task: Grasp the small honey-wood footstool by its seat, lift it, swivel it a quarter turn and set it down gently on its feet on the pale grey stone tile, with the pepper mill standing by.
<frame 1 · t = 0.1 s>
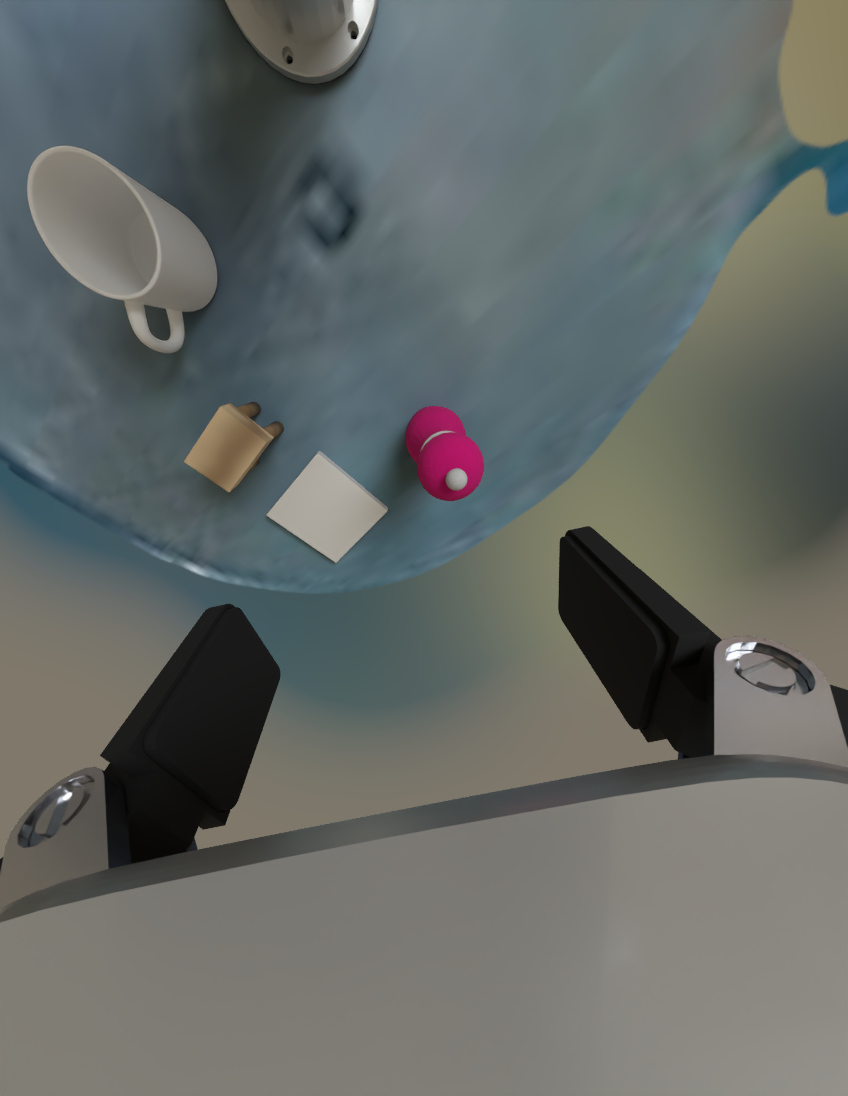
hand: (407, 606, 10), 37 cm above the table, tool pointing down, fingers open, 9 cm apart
tile: (329, 509, 47), on the table
stool: (254, 434, 41), on the table
pepper mill: (431, 431, 43), on the table
cup: (181, 286, 34), on the table
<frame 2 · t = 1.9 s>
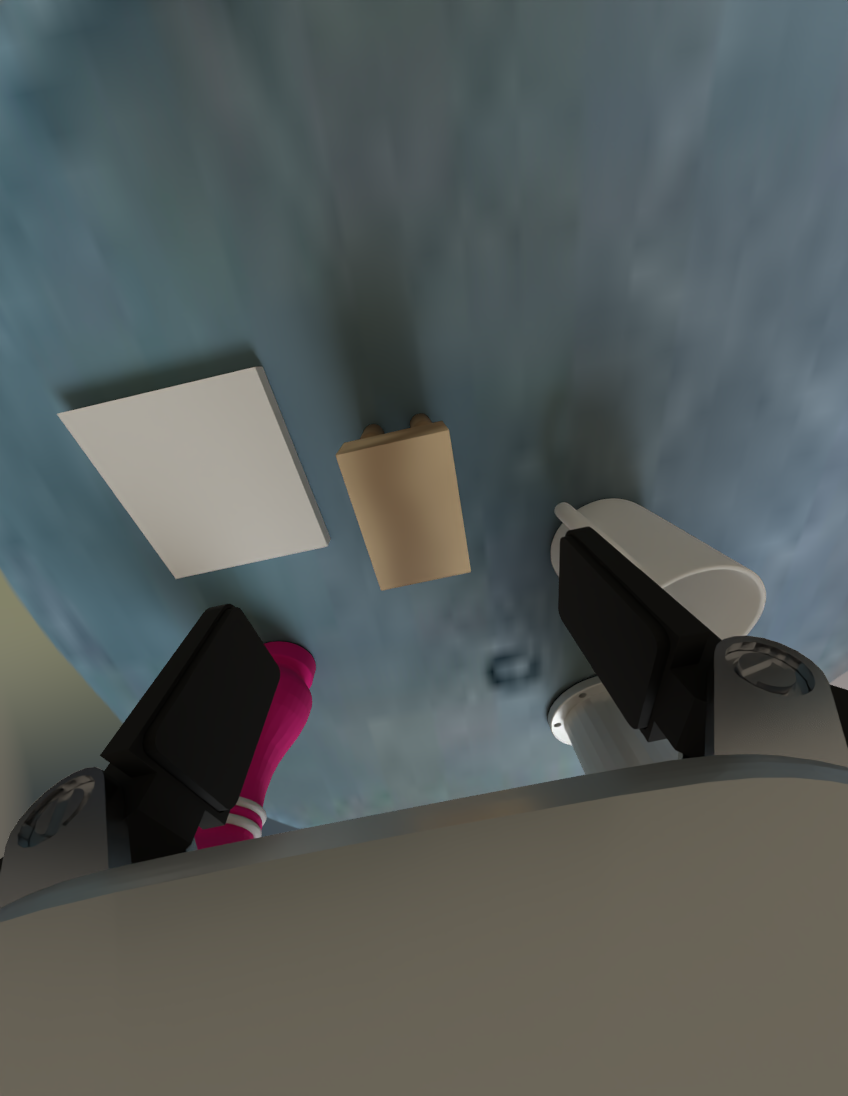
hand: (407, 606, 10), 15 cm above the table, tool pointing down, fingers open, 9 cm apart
tile: (218, 482, 23), on the table
stool: (406, 470, 23), on the table
pepper mill: (283, 661, 32), on the table
cup: (581, 528, 27), on the table
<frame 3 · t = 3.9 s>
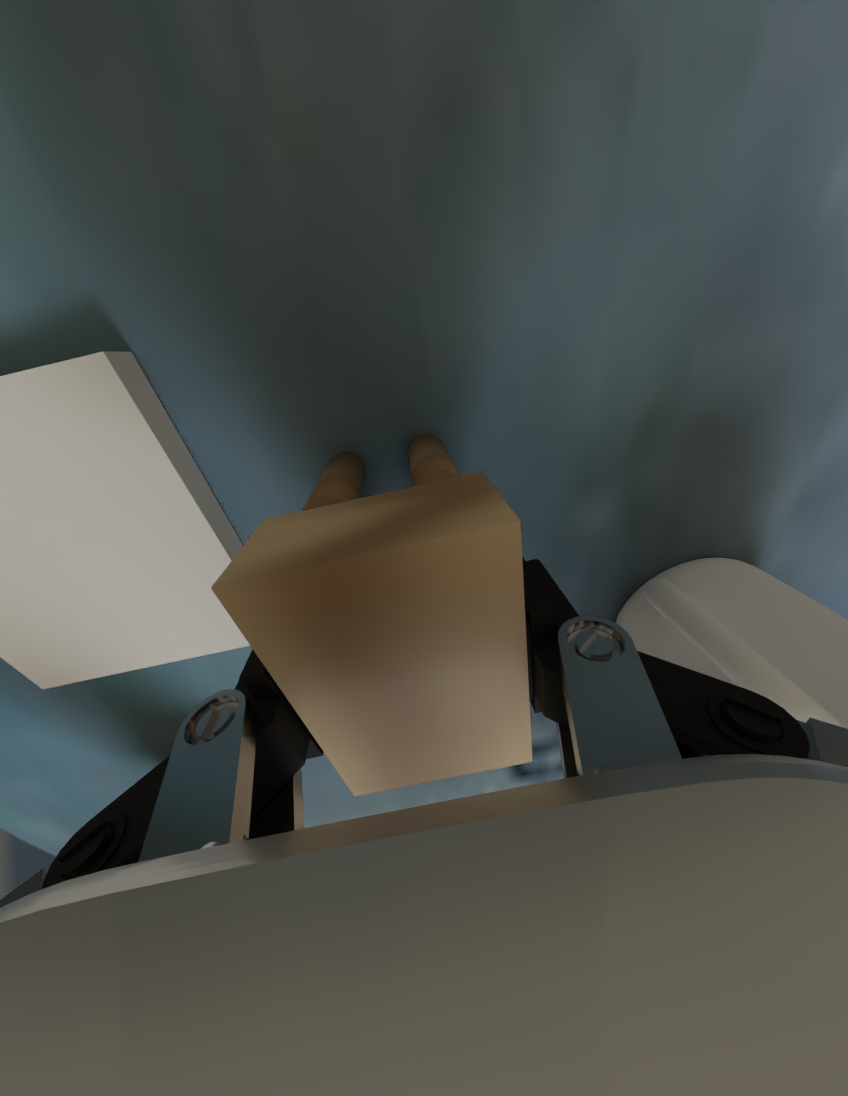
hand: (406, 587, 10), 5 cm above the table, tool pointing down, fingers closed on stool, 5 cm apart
tile: (89, 548, 14), on the table
stool: (402, 523, 14), on the table, touching gripper
cup: (661, 596, 18), on the table
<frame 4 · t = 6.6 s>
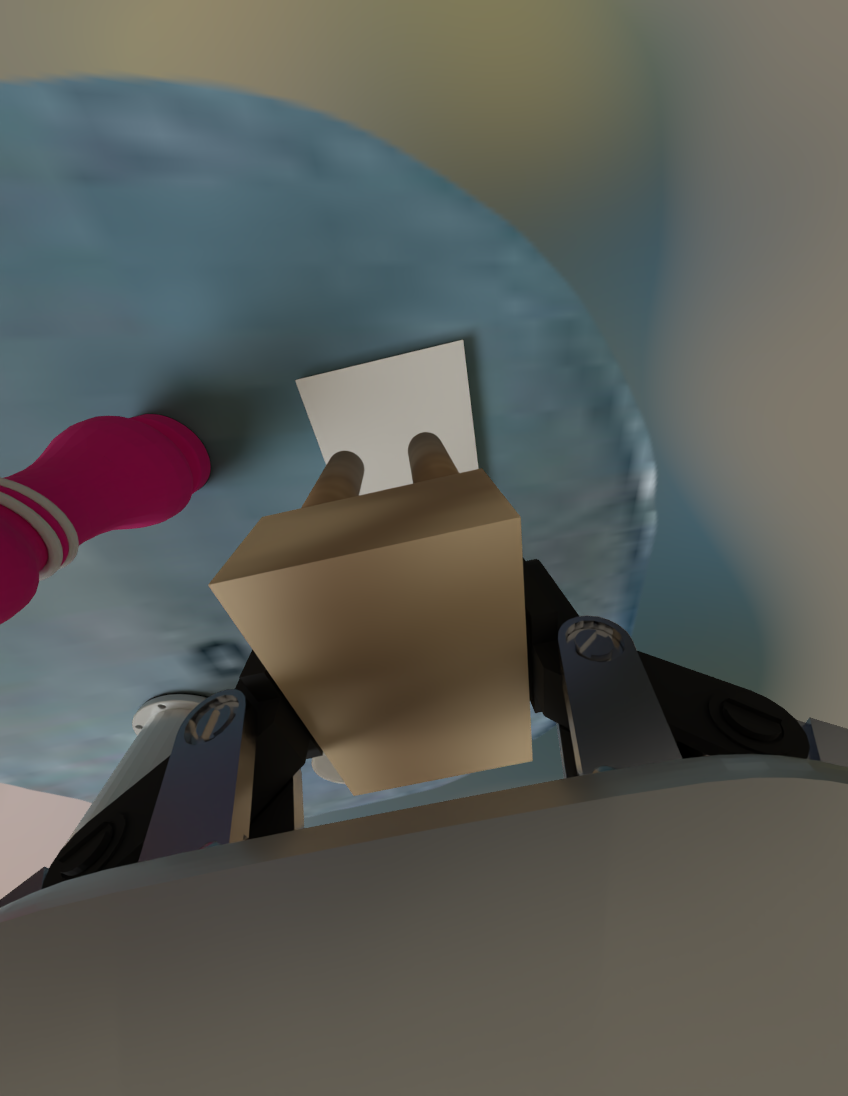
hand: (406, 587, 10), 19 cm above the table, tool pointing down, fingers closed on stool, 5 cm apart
tile: (398, 442, 27), on the table
stool: (402, 521, 14), point 15 cm above the table, touching gripper
pepper mill: (169, 455, 26), on the table
cup: (370, 667, 41), on the table
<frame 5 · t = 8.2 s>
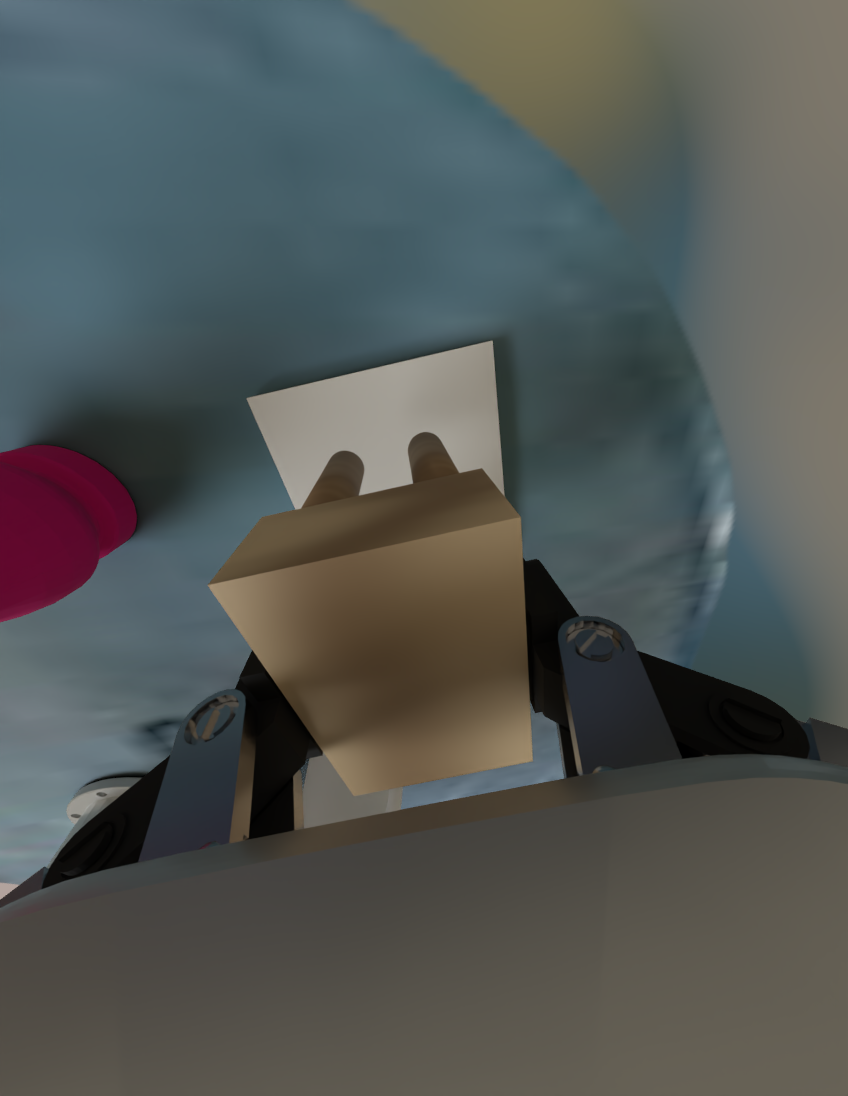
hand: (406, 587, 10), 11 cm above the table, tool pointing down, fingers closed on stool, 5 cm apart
tile: (397, 480, 20), on the table
stool: (402, 521, 14), point 6 cm above the table, touching gripper
pepper mill: (78, 499, 19), on the table
cup: (362, 741, 33), on the table
when the fingers open (7 cm above the table, at t = 9.7 s): stool drops 1 cm, resting on tile.
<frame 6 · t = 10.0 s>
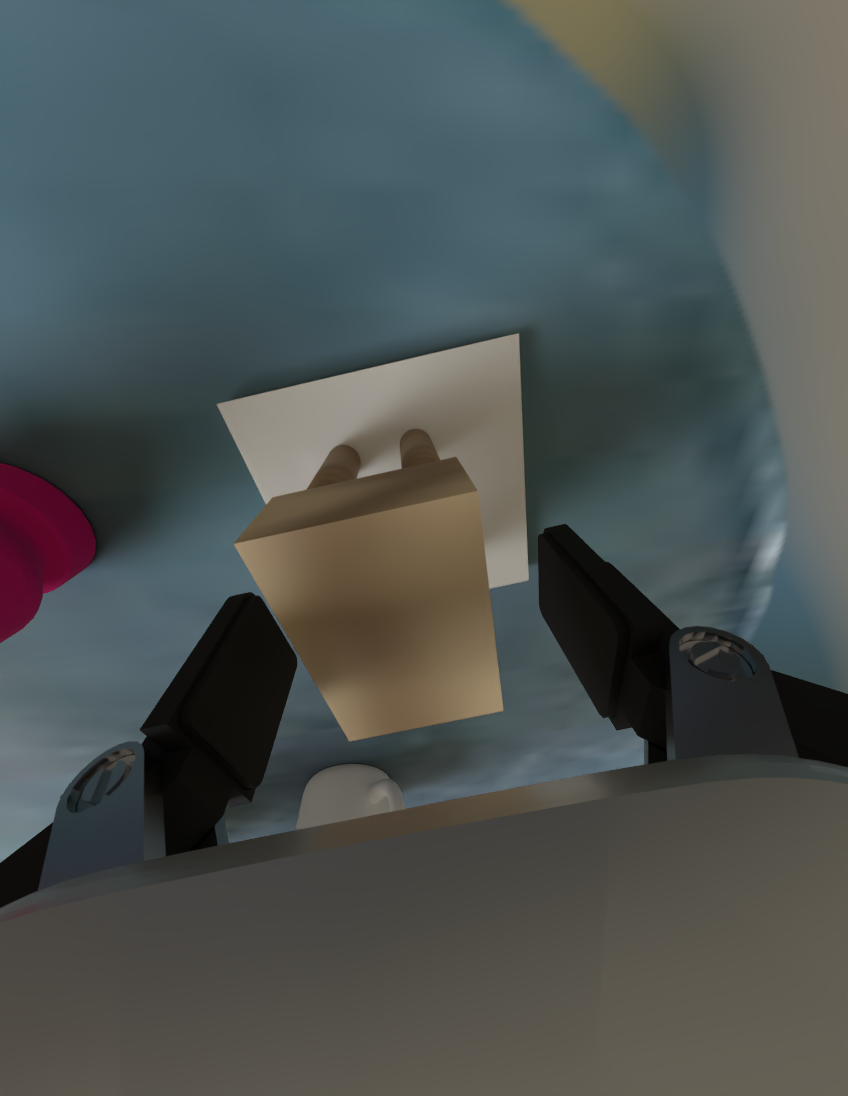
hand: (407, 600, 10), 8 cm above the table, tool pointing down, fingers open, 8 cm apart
tile: (401, 499, 17), on the table
stool: (395, 510, 16), point 1 cm above the table, touching tile
pepper mill: (25, 521, 16), on the table
cup: (361, 773, 31), on the table
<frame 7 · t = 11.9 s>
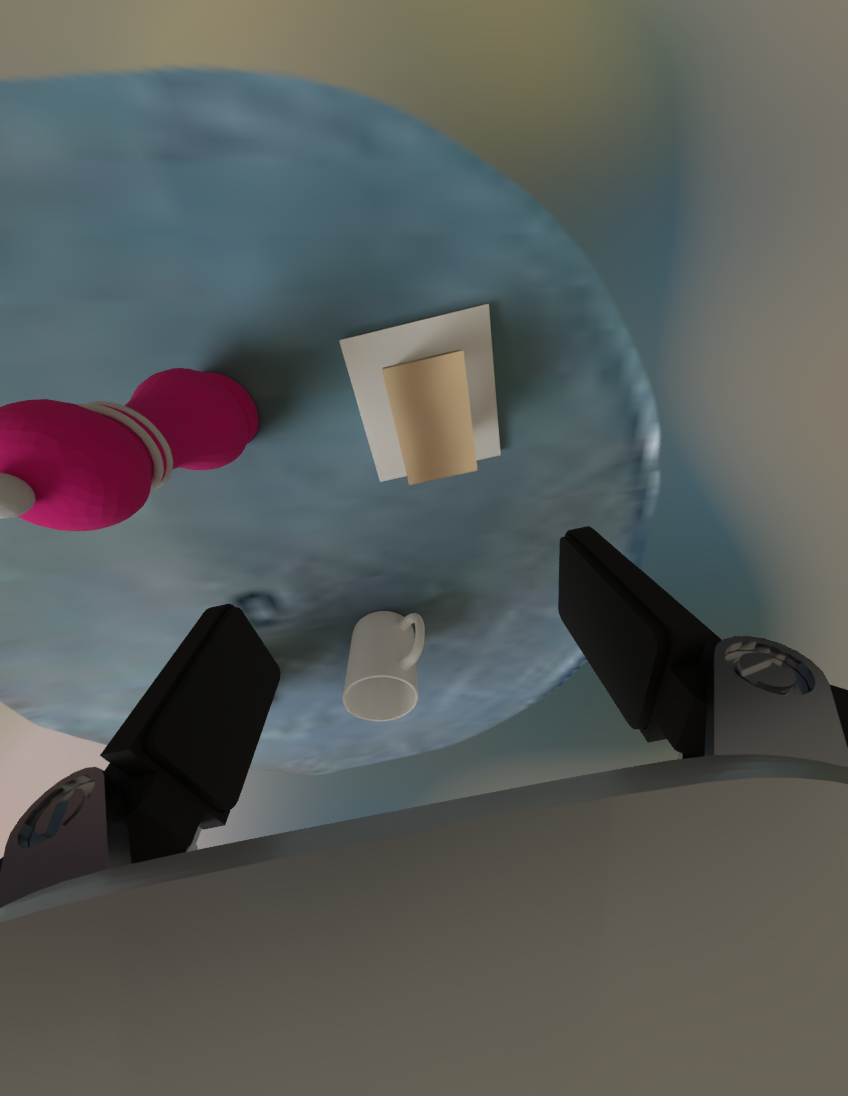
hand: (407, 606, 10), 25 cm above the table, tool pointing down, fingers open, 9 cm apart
tile: (426, 401, 30), on the table
stool: (424, 404, 29), point 1 cm above the table, touching tile
pepper mill: (223, 411, 29), on the table
cup: (392, 622, 44), on the table
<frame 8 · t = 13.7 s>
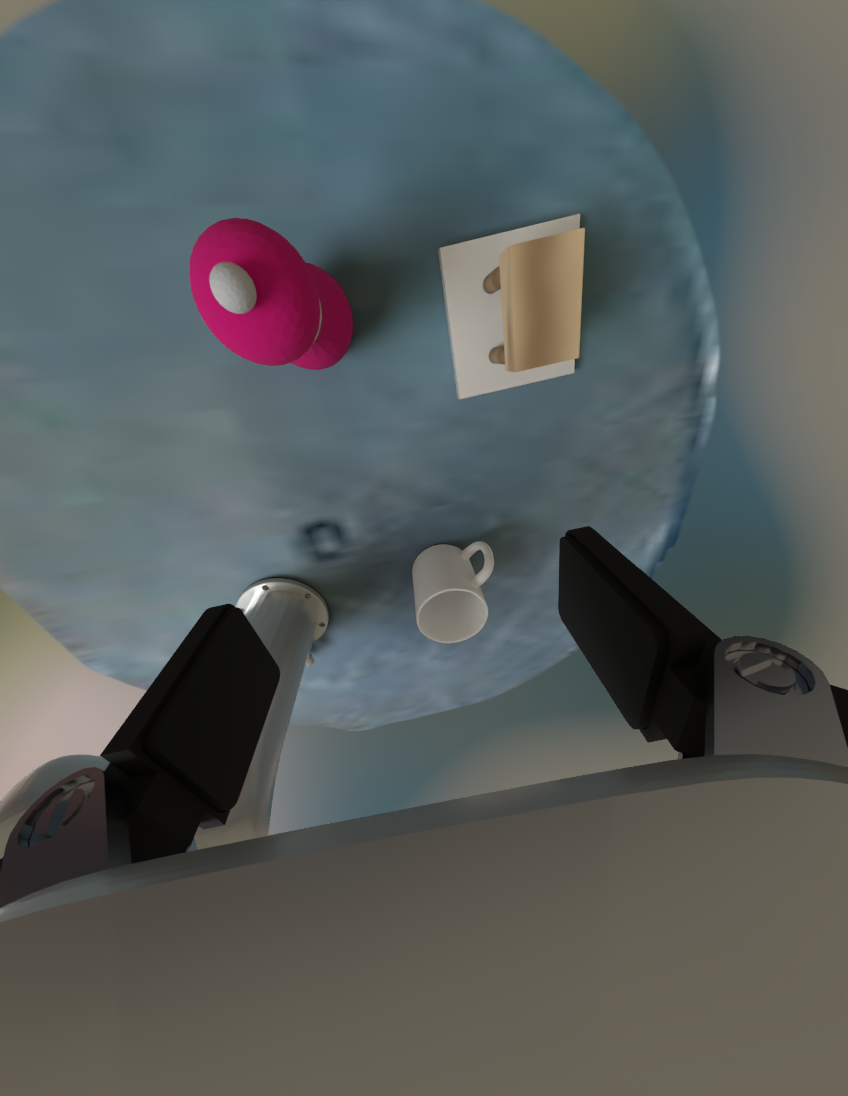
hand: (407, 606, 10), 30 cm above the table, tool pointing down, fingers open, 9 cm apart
tile: (509, 317, 32), on the table
stool: (510, 317, 31), point 1 cm above the table, touching tile
pepper mill: (318, 324, 31), on the table
cup: (449, 558, 45), on the table
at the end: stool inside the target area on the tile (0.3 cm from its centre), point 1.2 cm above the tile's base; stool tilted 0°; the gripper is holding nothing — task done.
